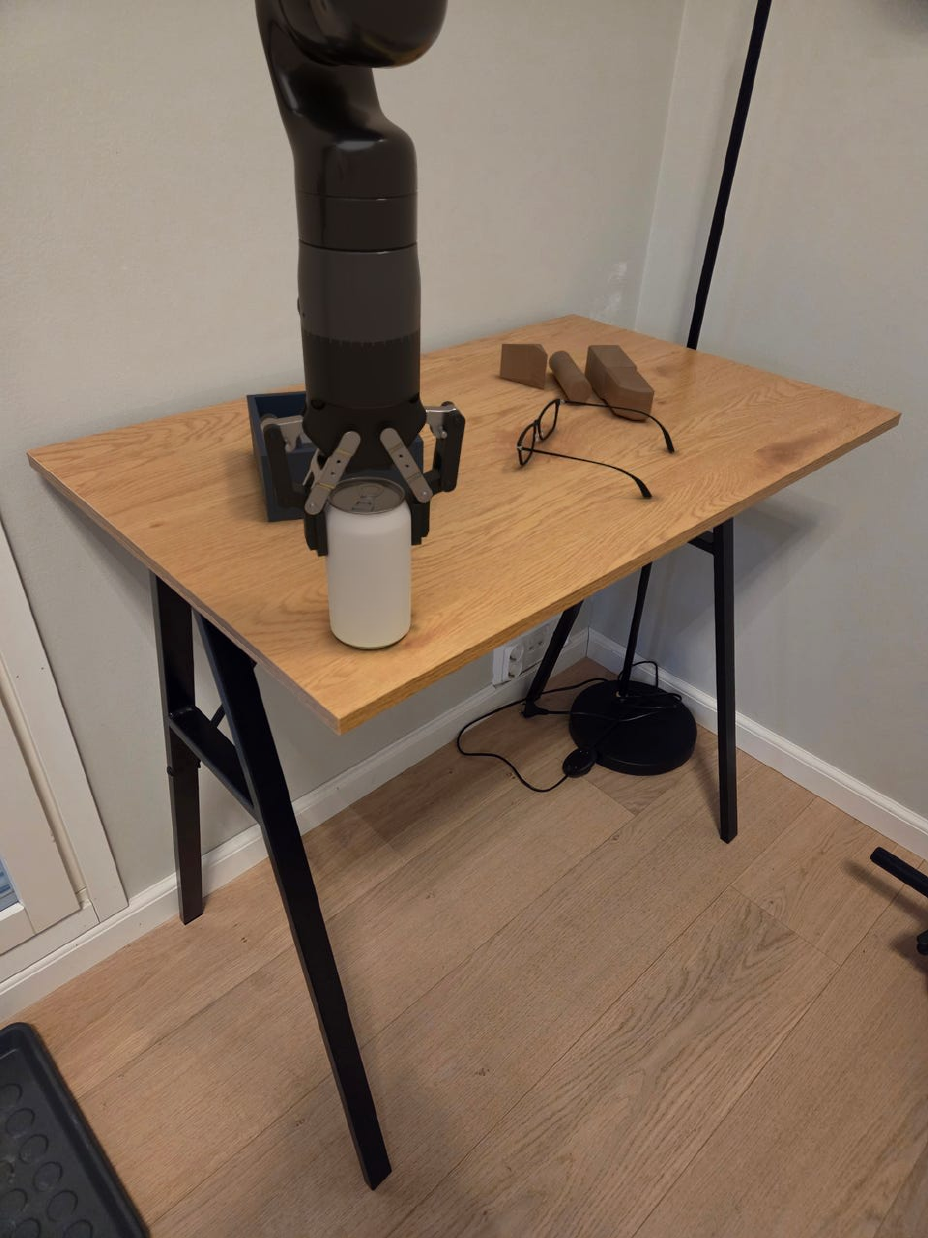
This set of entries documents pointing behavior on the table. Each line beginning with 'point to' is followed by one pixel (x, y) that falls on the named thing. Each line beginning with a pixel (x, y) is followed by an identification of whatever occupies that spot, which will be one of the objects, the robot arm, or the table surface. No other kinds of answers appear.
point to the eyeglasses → (537, 424)
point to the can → (368, 562)
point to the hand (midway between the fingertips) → (368, 545)
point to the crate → (303, 452)
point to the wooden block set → (582, 375)
